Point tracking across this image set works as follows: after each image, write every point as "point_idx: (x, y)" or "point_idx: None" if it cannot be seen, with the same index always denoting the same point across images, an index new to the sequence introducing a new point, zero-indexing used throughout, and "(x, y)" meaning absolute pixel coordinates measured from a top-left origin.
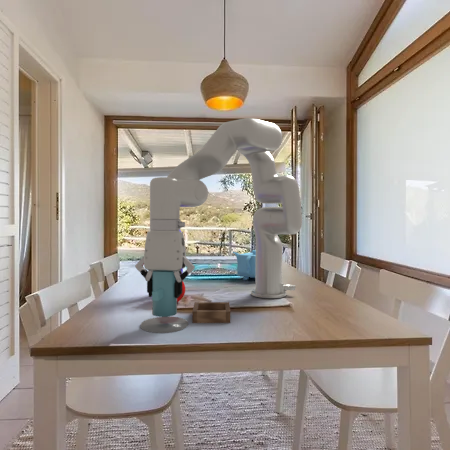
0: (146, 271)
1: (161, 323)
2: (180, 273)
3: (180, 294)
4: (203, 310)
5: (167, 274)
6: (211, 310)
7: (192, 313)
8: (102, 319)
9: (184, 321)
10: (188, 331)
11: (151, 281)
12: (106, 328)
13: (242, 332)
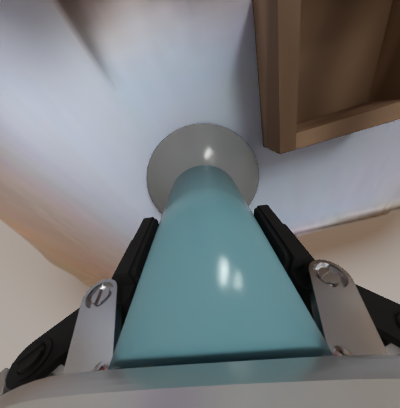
0: (57, 364)
1: None
2: (349, 325)
3: (267, 206)
4: (319, 128)
5: None
6: (350, 119)
7: (277, 152)
8: (25, 172)
9: (246, 159)
10: (261, 193)
11: None
12: (98, 219)
13: (384, 166)
